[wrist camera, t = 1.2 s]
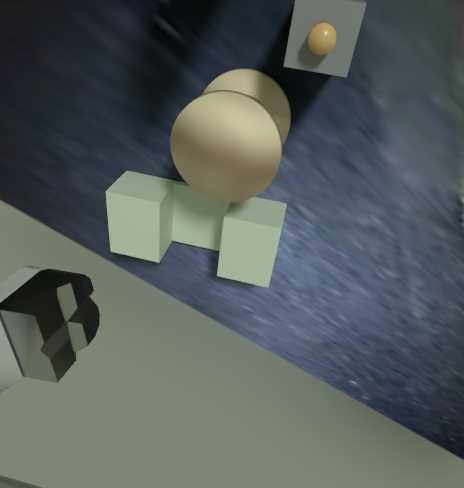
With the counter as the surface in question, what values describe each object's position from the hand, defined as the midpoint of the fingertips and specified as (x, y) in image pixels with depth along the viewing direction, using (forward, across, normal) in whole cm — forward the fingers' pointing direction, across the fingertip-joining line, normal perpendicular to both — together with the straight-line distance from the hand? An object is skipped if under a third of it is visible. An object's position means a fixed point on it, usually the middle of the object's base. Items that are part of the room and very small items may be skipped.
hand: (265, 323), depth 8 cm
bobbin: (+28, +7, +2) cm, 29 cm away
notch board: (+29, +12, +12) cm, 34 cm away
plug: (+28, +1, -5) cm, 28 cm away
